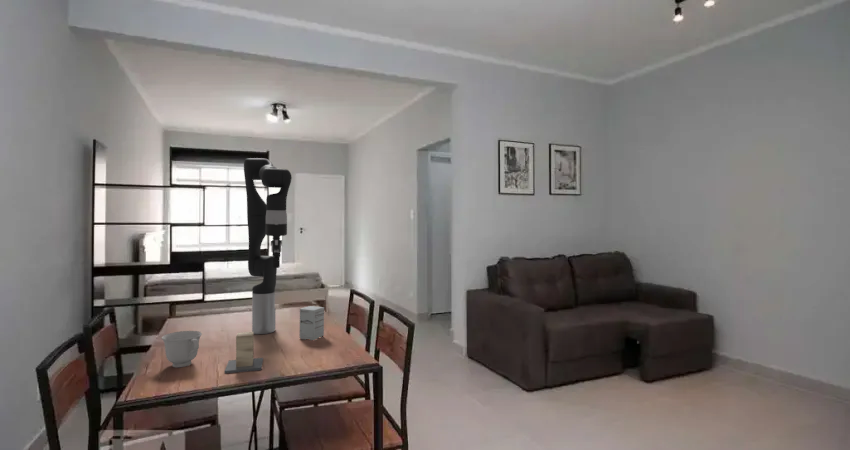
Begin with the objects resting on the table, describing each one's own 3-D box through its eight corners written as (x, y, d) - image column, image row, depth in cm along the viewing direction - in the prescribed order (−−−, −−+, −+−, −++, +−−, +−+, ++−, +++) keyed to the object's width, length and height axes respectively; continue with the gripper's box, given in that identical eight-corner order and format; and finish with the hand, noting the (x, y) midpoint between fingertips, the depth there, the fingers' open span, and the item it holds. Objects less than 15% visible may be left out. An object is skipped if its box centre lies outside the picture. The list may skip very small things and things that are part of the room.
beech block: (237, 362, 149) (237, 332, 149) (253, 360, 150) (253, 331, 150) (236, 367, 144) (236, 336, 144) (252, 365, 146) (252, 335, 146)
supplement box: (298, 339, 181) (298, 308, 181) (309, 335, 188) (310, 305, 188) (313, 341, 178) (313, 310, 178) (324, 336, 185) (324, 306, 185)
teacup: (178, 375, 139) (178, 343, 139) (153, 366, 146) (154, 336, 146) (214, 364, 149) (214, 335, 149) (189, 357, 157) (189, 328, 157)
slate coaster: (228, 362, 151) (228, 360, 151) (263, 359, 154) (263, 357, 154) (224, 373, 140) (224, 370, 140) (261, 370, 144) (261, 367, 144)
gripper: (265, 221, 169) (265, 263, 170) (265, 223, 155) (265, 269, 156) (286, 221, 171) (286, 263, 172) (287, 223, 158) (287, 268, 159)
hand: (276, 266), depth 164 cm, fingers open, 8 cm apart
